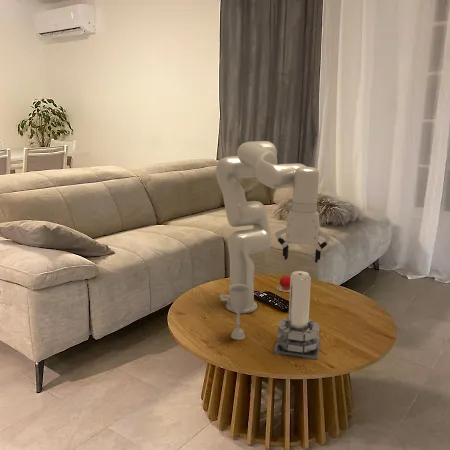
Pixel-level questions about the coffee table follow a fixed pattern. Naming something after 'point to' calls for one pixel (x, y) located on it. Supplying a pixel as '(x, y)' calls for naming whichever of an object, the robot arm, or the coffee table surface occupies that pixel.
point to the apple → (284, 284)
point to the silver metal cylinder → (299, 303)
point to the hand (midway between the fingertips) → (301, 259)
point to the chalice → (238, 306)
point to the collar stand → (298, 349)
